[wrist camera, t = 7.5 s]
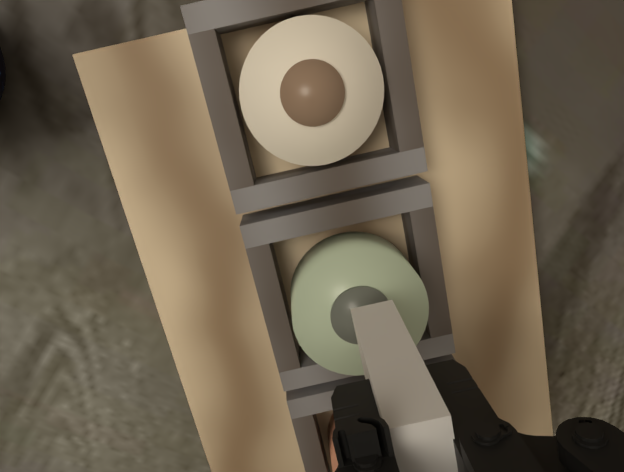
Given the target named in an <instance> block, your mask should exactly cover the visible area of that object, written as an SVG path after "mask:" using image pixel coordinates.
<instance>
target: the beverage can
mask: <svg viewBox="0 0 624 472" xmlns="http://www.w3.org/2000/svg"><path fill="white" fill-rule="evenodd" d="M4 86H5V63H4V58H3V54H2V51H1V48H0V99H1V97H2V94H3V91H4Z"/></svg>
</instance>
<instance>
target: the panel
mask: <svg viewBox="0 0 624 472" xmlns="http://www.w3.org/2000/svg"><path fill="white" fill-rule="evenodd" d="M180 8H181V11H182V15H183V19H184V22H185V26H186V29H182V30H178V31H173V32H169V33H165V34H160V35H156V36H151V37H147V38H143V39H138V40H134V41H129V42H125V43H121V44H116V45H112V46H107V47H103V48H99V49H94V50H90V51H86V52H81V53H77V54H72V55H73V58H74V61H75V64H76V67H77V70H78V73H79V76H80V79H81V82H82V85H83V88H84V91H85V94H86V97H87V100H88V103H89V106H90V109H91V112H92V115H93V118H94V121H95V124H96V127H97V130H98V133H99V136H100V139H101V142H102V145H103V148H104V151H105V154H106V157H107V160H108V163H109V166H110V169H111V172H112V175H113V178H114V181H115V184H116V187H117V190H118V193H119V196H120V199H121V202H122V205H123V208H124V211H125V214H126V217H127V220H128V223H129V226H130V229H131V232H132V235H133V238H134V241H135V244H136V247H137V250H138V253H139V256H140V259H141V262H142V265H143V268H144V271H145V274H146V277H147V280H148V283H149V286H150V289H151V292H152V295H153V298H154V301H155V304H156V307H157V310H158V313H159V316H160V319H161V322H162V325H163V328H164V331H165V334H166V337H167V340H168V343H169V346H170V349H171V352H172V355H173V358H174V361H175V364H176V367H177V370H178V373H179V376H180V379H181V382H182V385H183V388H184V391H185V394H186V397H187V400H188V403H189V406H190V409H191V412H192V415H193V418H194V421H195V424H196V427H197V430H198V433H199V436H200V439H201V442H202V445H203V448H204V451H205V454H206V457H207V460H208V463H209V465H210V468H211V471H212V472H332V465H331V457H330V450H329V443H328V424H329V421H330V418H331V416H332V414H333V408H332V402H331V396H332V394H333V392H334V390H335V388H336V386H338V385H343V384H348V383H352V382H357V381H361V380H366V379H365V375H358V376H354V375H345V374H339V373H336V372H333V371H330V370H328V369H326V368H324V367H322V366H320V365H319V364H317V363H316V362H315V361H313V360H312V359H311V358H310V357H309V356H308V355H307V354H306V353H305V352H304V350H303V349H302V347H301V346H300V344H299V342H298V340H297V338H296V336H295V333H294V330H293V324H292V312H291V291H290V290H291V281H292V277H293V274H294V271H295V269H296V267H297V265H298V263H299V261H300V260H301V259H302V257H303V256H304V255H305V253H306V252H307V251H308V250H309V249H310V248H312V247H313V246H314V245H315V244H317V243H318V242H320V241H322V240H323V239H325V238H327V237H330V236H332V235H335V234H339V233H344V232H355V231H358V232H366V233H371V234H374V235H377V236H380V237H382V238H384V239H386V240H388V241H389V242H390V243H392V244H393V245H394V246H395V247H396V248H398V249H399V250H400V252H401V253H402V254H403V255H404V257H405V258H406V259H407V261H408V262H409V263H410V265H411V266H412V267H413V269H414V270H415V271H416V273H417V274H418V275H419V277H420V279H421V280H422V282H423V284H424V287H425V289H426V292H427V296H428V302H429V316H428V321H427V325H426V328H425V331H424V333H423V336H422V338H421V340H420V341H419V343H418V344H417V346H416V347H417V349H418V351H419V353H420V355H421V357H422V359H423V361H424V363H425V365H428V364H433V363H438V362H442V361H447V360H451V359H453V360H455V361H457V362H458V363H460V364H462V365H463V366H465V367H466V368H467V370H468V371H469V373H470V375H471V376H472V378H473V379H474V381H475V382H476V384H477V385H478V388H480V390H481V392H482V393H483V395H484V396H485V398H486V399H487V401H488V402H489V404H490V405H491V407H492V409H493V410H494V412H495V413H496V415H497V416H498V418H500V419H502V420H504V421H506V422H509V423H510V424H511V425H512V426H513V427H514V428H515V429H516V430H517V432H518V433H522V434H526V435H534V436H553V428H552V418H551V407H550V397H549V386H548V376H547V365H546V355H545V344H544V334H543V323H542V313H541V303H540V292H539V282H538V271H537V261H536V250H535V240H534V229H533V219H532V209H531V198H530V188H529V177H528V167H527V156H526V146H525V135H524V125H523V114H522V104H521V94H520V83H519V73H518V62H517V52H516V41H515V31H514V20H513V10H512V0H204V1H199V2H195V3H191V4H186V5H182V6H180ZM303 15H321V16H327V17H330V18H334V19H337V20H339V21H341V22H344V23H345V24H347V25H349V26H350V27H352V28H353V29H354V30H356V31H357V32H358V33H359V34H361V36H362V37H363V38H364V39H365V40H366V41H367V42H368V44H369V45H370V46H371V48H372V49H373V51H374V53H375V55H376V57H377V59H378V61H379V64H380V67H381V70H382V74H383V81H384V100H383V107H382V110H381V114H380V117H379V120H378V122H377V124H376V126H375V128H374V130H373V132H372V133H371V135H370V136H369V137H368V139H367V140H366V141H365V142H364V143H363V144H362V145H361V146H360V147H359V148H358V149H357V150H356V151H354V152H353V153H352V154H350V155H348V156H347V157H345V158H343V159H341V160H339V161H336V162H333V163H330V164H326V165H320V166H304V165H297V164H293V163H290V162H287V161H285V160H282V159H280V158H278V157H276V156H275V155H273V154H272V153H270V152H269V151H268V150H266V149H265V148H264V147H263V146H262V145H261V144H260V143H259V142H258V141H257V139H256V138H255V137H254V136H253V134H252V133H251V131H250V129H249V128H248V126H247V124H246V121H245V119H244V116H243V113H242V110H241V105H240V99H239V82H240V76H241V71H242V68H243V65H244V62H245V59H246V57H247V55H248V53H249V51H250V50H251V48H252V47H253V45H254V44H255V42H256V41H257V40H258V39H259V38H260V37H261V36H262V35H263V34H264V33H265V32H266V31H267V30H269V29H270V28H272V27H273V26H275V25H276V24H278V23H280V22H282V21H284V20H286V19H290V18H293V17H296V16H303Z"/></svg>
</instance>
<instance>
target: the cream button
mask: <svg viewBox="0 0 624 472" xmlns="http://www.w3.org/2000/svg"><path fill="white" fill-rule="evenodd" d="M239 99H240V105H241V110H242V113H243V116H244V119H245V121H246V124H247V126H248V128H249V129H250V131H251V133H252V134H253V136H254V137H255V138H256V139H257V141H258V142H259V143H260V144H261V145H262V146H263V147H264V148H265V149H266V150H268V151H269V152H270V153H272V154H273V155H275V156H276V157H278V158H280V159H282V160H285V161H287V162H290V163H293V164H297V165H304V166H320V165H326V164H330V163H333V162H336V161H339V160H341V159H343V158H345V157H347V156H348V155H350V154H352V153H353V152H354V151H356V150H357V149H358V148H359V147H360V146H361V145H362V144H363V143H364V142H365V141H366V140H367V139H368V137H369V136H370V135H371V133H372V132H373V130H374V128H375V126H376V124H377V122H378V120H379V117H380V114H381V110H382V107H383V100H384V81H383V74H382V70H381V67H380V64H379V61H378V59H377V57H376V55H375V53H374V51H373V49H372V48H371V46H370V45H369V44H368V42H367V41H366V40H365V39H364V38H363V37H362V36H361V34H359V33H358V32H357V31H356V30H354V29H353V28H352V27H350V26H349V25H347V24H345V23H344V22H341V21H339V20H337V19H334V18H330V17H327V16H321V15H303V16H296V17H293V18H290V19H286V20H284V21H282V22H280V23H278V24H276V25H275V26H273V27H272V28H270V29H269V30H267V31H266V32H265V33H264V34H263V35H262V36H261V37H260V38H259V39H258V40H257V41H256V42H255V44H254V45H253V47H252V48H251V50H250V51H249V53H248V55H247V57H246V59H245V62H244V65H243V68H242V71H241V76H240V82H239Z"/></svg>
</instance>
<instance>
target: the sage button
mask: <svg viewBox="0 0 624 472" xmlns="http://www.w3.org/2000/svg"><path fill="white" fill-rule="evenodd" d="M290 291H291V312H292V324H293V330H294V333H295V336H296V338H297V340H298V342H299V344H300V346H301V347H302V349H303V350H304V352H305V353H306V354H307V355H308V356H309V357H310V358H311V359H312V360H313V361H315V362H316V363H317V364H319V365H320V366H322V367H324V368H326V369H328V370H330V371H333V372H336V373H339V374H345V375H354V376H358V375H364V371H363V366H362V361H361V357H360V352H359V347H358V343H357V338H356V333H355V329H354V324H353V319H352V315H351V310H350V309H352V308H356V307H361V306H365V305H370V304H374V303H379V302H383V301H388V300H393V302H394V304H395V306H396V308H397V310H398V312H399V314H400V316H401V318H402V320H403V322H404V324H405V326H406V328H407V330H408V332H409V334H410V336H411V338H412V340H413V342H414V344H415V346H417V344H418V343H419V341H420V340H421V338H422V336H423V333H424V331H425V328H426V325H427V321H428V316H429V302H428V296H427V292H426V289H425V287H424V284H423V282H422V280H421V279H420V277H419V275H418V274H417V273H416V271H415V270H414V269H413V267H412V266H411V265H410V263H409V262H408V261H407V259H406V258H405V257H404V255H403V254H402V253H401V252H400V250H399V249H398V248H396V247H395V246H394V245H393V244H392V243H390V242H389V241H388V240H386V239H384V238H382V237H380V236H377V235H374V234H371V233H366V232H358V231H355V232H344V233H339V234H335V235H332V236H330V237H327V238H325V239H323V240H322V241H320V242H318V243H317V244H315V245H314V246H313V247H312V248H310V249H309V250H308V251H307V252H306V253H305V255H304V256H303V257H302V259H301V260H300V261H299V263H298V265H297V267H296V269H295V271H294V274H293V277H292V281H291V290H290Z"/></svg>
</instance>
